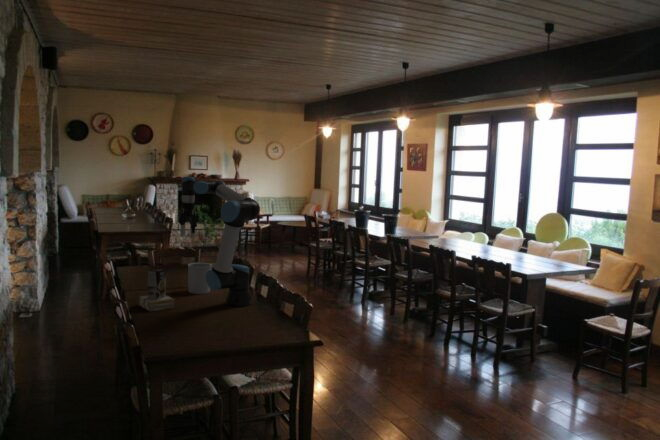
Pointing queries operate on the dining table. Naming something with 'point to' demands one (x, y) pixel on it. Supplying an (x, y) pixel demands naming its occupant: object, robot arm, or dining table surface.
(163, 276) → the coffee box
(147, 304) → the dock
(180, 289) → the dining table surface
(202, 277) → the utensil holder
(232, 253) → the robot arm
